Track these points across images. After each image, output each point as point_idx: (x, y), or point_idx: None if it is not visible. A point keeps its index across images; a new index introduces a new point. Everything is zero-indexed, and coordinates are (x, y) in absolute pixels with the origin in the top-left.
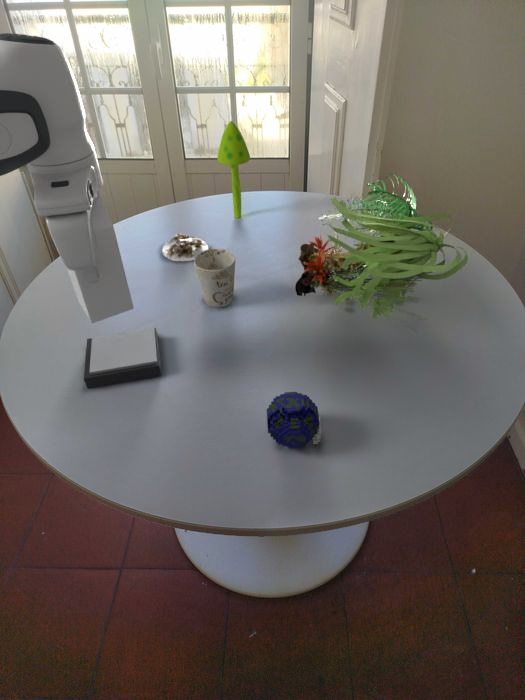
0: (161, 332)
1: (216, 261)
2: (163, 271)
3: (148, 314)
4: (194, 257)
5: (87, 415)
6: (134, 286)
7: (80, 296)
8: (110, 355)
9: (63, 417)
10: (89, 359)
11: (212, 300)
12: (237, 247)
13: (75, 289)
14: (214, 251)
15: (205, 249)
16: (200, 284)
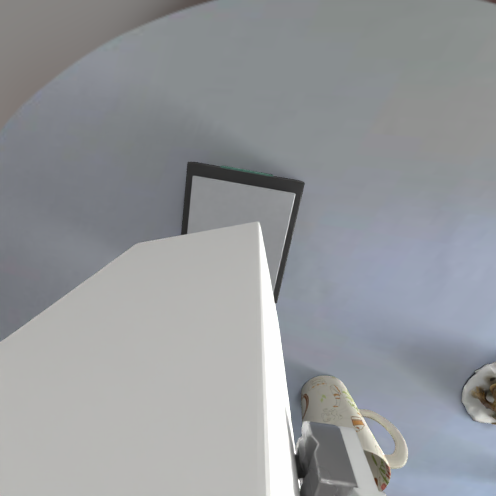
0: (285, 299)
1: (369, 457)
2: (462, 342)
3: (345, 291)
4: (467, 396)
5: (131, 154)
6: (449, 287)
7: (149, 261)
8: (225, 220)
9: (138, 112)
10: (238, 179)
11: (308, 392)
12: (448, 454)
13: (221, 246)
14: (382, 481)
15: (478, 418)
16: (335, 405)
